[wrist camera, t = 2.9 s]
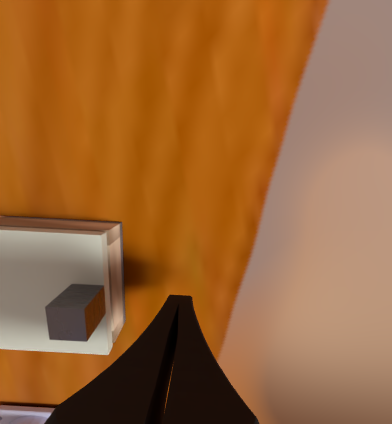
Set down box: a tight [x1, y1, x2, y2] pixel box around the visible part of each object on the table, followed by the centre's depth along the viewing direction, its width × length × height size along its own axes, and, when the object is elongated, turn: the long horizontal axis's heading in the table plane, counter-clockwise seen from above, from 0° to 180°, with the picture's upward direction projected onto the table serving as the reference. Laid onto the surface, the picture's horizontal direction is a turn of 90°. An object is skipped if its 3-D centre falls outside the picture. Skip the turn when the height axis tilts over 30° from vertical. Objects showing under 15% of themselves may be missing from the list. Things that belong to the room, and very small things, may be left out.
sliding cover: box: [0, 226, 112, 355], centre depth 11 cm, size 8×8×3 cm
